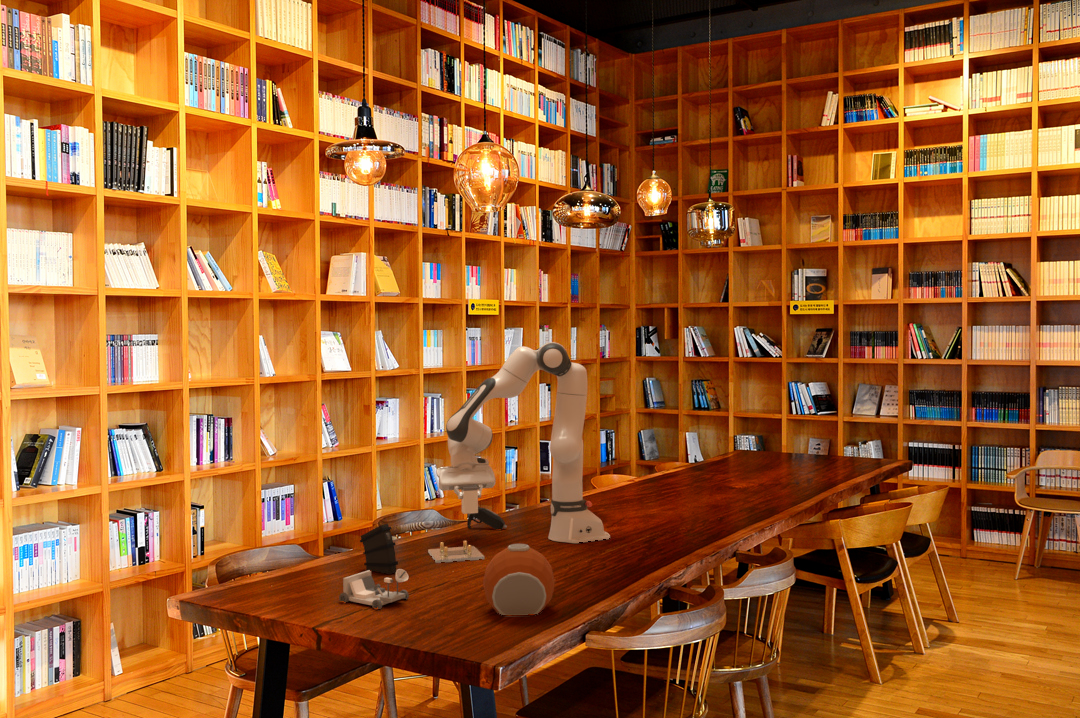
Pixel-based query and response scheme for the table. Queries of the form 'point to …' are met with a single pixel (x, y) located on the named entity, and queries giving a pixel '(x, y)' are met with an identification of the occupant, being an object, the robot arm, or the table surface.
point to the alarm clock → (518, 581)
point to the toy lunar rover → (372, 589)
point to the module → (469, 499)
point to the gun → (487, 518)
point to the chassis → (455, 553)
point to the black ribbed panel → (379, 550)
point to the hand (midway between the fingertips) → (470, 497)
